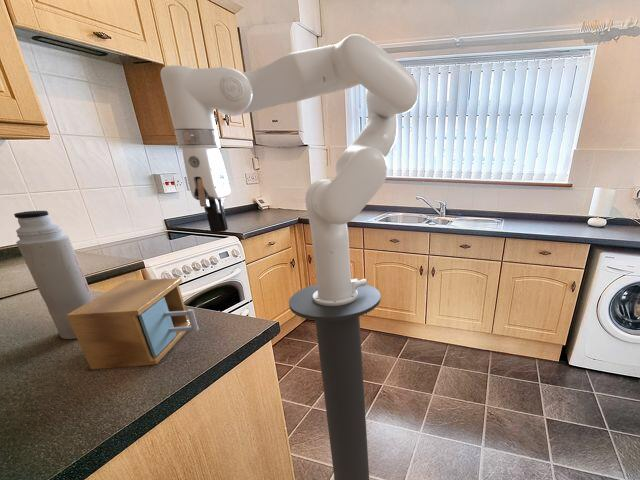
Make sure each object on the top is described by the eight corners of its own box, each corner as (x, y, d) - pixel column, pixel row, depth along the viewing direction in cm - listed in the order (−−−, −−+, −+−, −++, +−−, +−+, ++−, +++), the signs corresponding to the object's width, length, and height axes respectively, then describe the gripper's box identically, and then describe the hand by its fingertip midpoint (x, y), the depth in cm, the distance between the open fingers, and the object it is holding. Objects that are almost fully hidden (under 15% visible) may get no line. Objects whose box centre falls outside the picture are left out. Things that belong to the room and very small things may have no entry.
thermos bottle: (102, 319, 86) (56, 207, 74) (106, 330, 80) (57, 211, 69) (60, 330, 81) (4, 211, 69) (61, 342, 75) (0, 216, 64)
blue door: (203, 333, 76) (192, 295, 73) (186, 354, 68) (173, 313, 65) (173, 335, 76) (161, 297, 72) (152, 357, 68) (137, 315, 64)
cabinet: (194, 323, 84) (181, 277, 79) (156, 364, 67) (137, 310, 63) (142, 326, 82) (125, 280, 77) (90, 369, 66) (65, 314, 61)
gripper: (204, 139, 62) (226, 237, 69) (229, 141, 75) (246, 223, 83) (160, 139, 61) (187, 239, 68) (194, 141, 74) (214, 224, 82)
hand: (219, 230), depth 75 cm, fingers closed
